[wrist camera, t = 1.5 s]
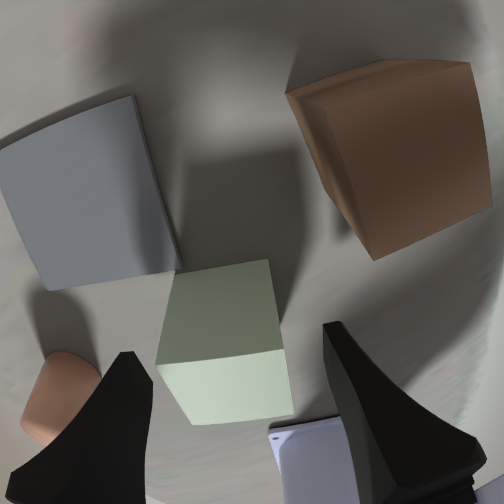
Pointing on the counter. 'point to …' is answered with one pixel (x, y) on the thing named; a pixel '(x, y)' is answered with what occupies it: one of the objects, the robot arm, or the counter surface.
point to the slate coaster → (89, 199)
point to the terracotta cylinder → (58, 395)
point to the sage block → (225, 345)
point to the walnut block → (397, 147)
